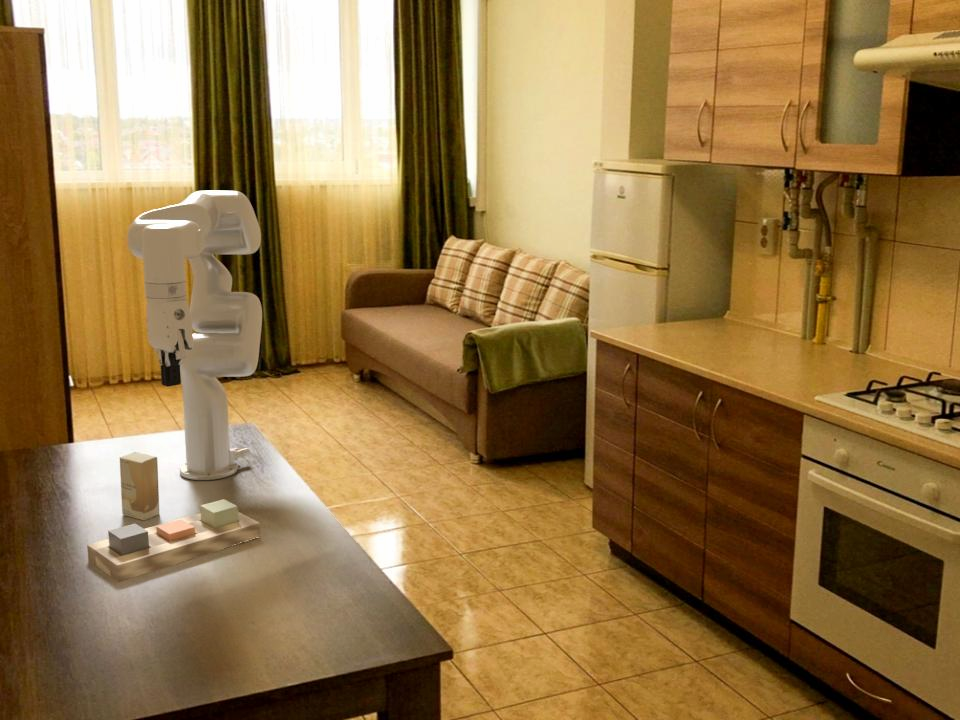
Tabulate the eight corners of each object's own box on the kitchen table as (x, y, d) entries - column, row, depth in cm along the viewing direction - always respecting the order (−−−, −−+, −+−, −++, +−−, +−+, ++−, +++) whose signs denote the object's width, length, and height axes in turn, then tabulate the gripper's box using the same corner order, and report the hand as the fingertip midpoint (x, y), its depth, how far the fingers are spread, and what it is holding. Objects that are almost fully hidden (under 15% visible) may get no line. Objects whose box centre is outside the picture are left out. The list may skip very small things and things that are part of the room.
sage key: (224, 517, 197) (223, 499, 196) (238, 525, 193) (237, 506, 192) (201, 524, 193) (200, 505, 193) (214, 532, 190) (213, 512, 189)
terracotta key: (182, 538, 191) (181, 519, 190) (195, 546, 188) (194, 526, 187) (157, 545, 188) (156, 526, 187) (170, 553, 184) (169, 534, 183)
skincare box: (121, 515, 203) (117, 456, 201) (138, 508, 207) (134, 450, 204) (145, 521, 200) (141, 462, 198) (161, 514, 204) (157, 456, 201)
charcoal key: (136, 543, 185) (134, 523, 184) (149, 551, 181) (148, 531, 180) (109, 550, 181) (108, 530, 180) (122, 559, 178) (120, 539, 177)
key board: (227, 520, 201) (226, 505, 201) (260, 537, 193) (259, 522, 192) (88, 560, 182) (87, 544, 182) (118, 581, 174) (117, 565, 173)
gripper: (203, 293, 190) (208, 388, 194) (165, 284, 200) (170, 374, 205) (166, 297, 185) (172, 395, 189) (128, 288, 195) (135, 381, 199)
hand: (171, 384), depth 197 cm, fingers closed
